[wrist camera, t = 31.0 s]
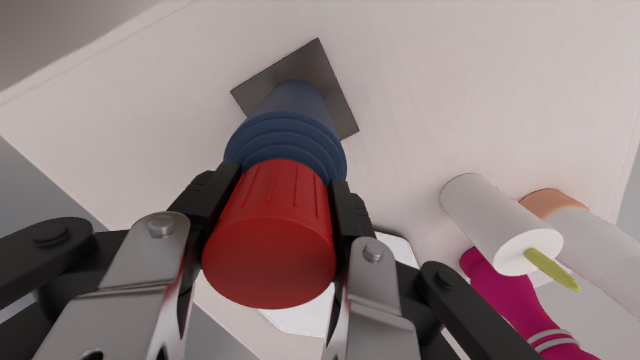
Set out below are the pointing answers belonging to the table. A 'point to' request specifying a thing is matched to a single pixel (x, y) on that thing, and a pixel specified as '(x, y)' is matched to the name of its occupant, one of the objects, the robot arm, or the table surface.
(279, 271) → the cap
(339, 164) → the bottle
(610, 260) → the pepper shaker
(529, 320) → the pepper mill
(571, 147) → the table surface
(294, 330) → the plate
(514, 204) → the candle
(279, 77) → the coaster
